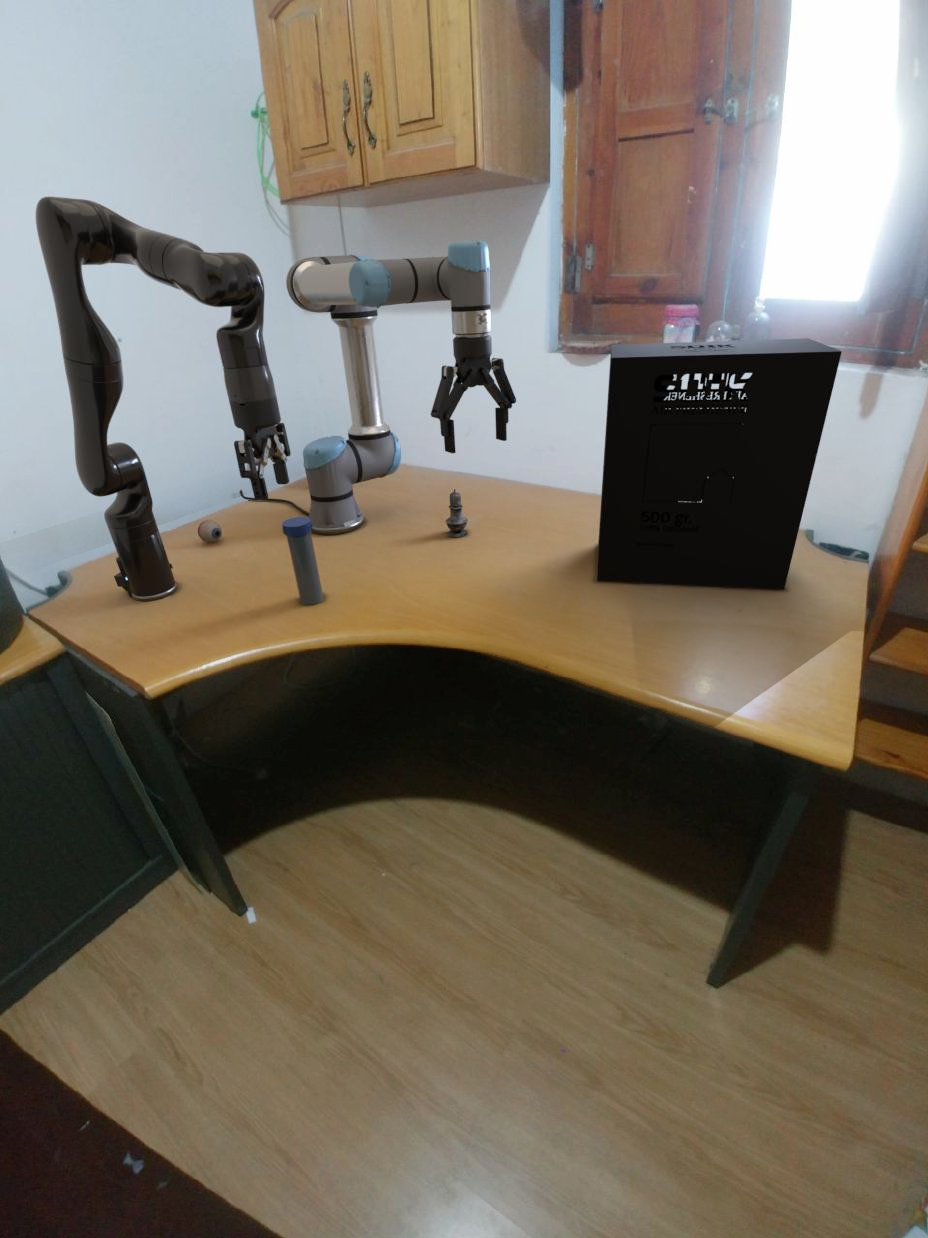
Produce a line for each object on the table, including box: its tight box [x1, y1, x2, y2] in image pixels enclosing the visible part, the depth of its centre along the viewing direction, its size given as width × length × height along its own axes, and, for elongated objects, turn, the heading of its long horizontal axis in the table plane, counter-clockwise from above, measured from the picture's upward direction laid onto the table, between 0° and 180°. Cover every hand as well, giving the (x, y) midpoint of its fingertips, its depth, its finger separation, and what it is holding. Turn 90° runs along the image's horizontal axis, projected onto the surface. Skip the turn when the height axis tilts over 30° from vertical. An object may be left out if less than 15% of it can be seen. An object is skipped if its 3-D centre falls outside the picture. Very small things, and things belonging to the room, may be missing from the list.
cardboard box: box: [596, 337, 842, 591], centre depth 125 cm, size 38×20×45 cm, turn 78°
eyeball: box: [197, 519, 223, 544], centre depth 161 cm, size 6×6×6 cm
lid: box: [281, 516, 313, 537], centre depth 123 cm, size 6×6×2 cm
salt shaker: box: [444, 488, 469, 538], centre depth 156 cm, size 6×6×12 cm
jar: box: [286, 531, 324, 606], centre depth 127 cm, size 5×5×17 cm
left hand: (272, 491), depth 106 cm, fingers open, 8 cm apart
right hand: (476, 445), depth 127 cm, fingers open, 13 cm apart
